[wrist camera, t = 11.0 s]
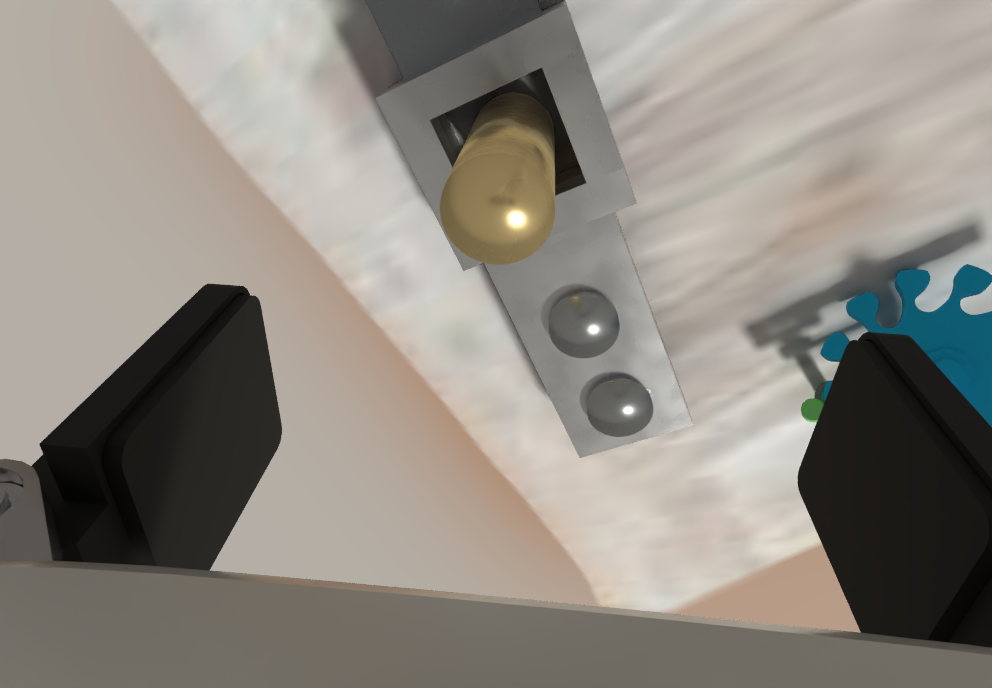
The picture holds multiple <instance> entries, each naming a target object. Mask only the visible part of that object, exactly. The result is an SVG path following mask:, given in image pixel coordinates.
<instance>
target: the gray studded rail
mask: <svg viewBox="0 0 992 688" xmlns="http://www.w3.org/2000/svg"><path fill="white" fill-rule="evenodd" d="M366 2H367V4H368V6H369V8H370V10H371V12H372V14H373V17H374V19H375V21H376V23H377V25H378V27H379V29H380V31H381V33H382V35H383V37H384V39H385V41H386V43H387V45H388V47H389V49H390V52H391V54H392V56H393V58H394V60H395V62H396V64H397V66H398V68H399V70H400V72H401V74H402V76H403V78H404V79H403V80H401V81H399V82H397V83H395V84H393V85H391V86H390V87H388V88H387V89H386V90H385V91H384V92H382V93H381V94H380V95H379V96H377V97H376V98H375V99H376V101H377V103H378V105H379V107H380V109H381V111H382V113H383V114H384V116H385V118H386V120H387V122H388V124H389V126H390V128H391V130H392V132H393V134H394V136H395V138H396V140H397V142H398V144H399V146H400V148H401V150H402V152H403V154H404V155H405V157H406V159H407V161H408V163H409V165H410V167H411V169H412V171H413V173H414V175H415V177H416V179H417V181H418V183H419V185H420V187H421V189H422V191H423V193H424V195H425V196H426V198H427V200H428V202H429V204H430V206H431V208H432V210H433V212H434V214H435V216H436V218H437V220H438V222H439V224H440V226H441V228H442V230H443V232H444V234H445V236H446V238H447V239H448V241H449V243H450V245H451V247H452V249H453V251H454V253H455V255H456V257H457V259H458V261H459V263H460V265H461V267H462V269H463V271H465V270H467V269H470V268H472V267H475V266H477V265H480V264H482V263H483V262H480V261H477V260H474V259H472V258H471V257H469V256H467V255H466V254H464V253H463V252H461V251H460V250H459V249H458V248H457V247H456V246H455V245H454V244H453V243H452V241H451V240H450V239H449V237H448V236H447V234H446V232H445V230H444V227H443V224H442V221H441V216H440V199H441V194H442V191H443V188H444V186H445V184H446V181H447V179H448V177H449V175H450V173H451V171H452V169H453V167H454V164H455V162H456V160H457V158H458V156H459V154H460V152H461V150H462V149H461V147H460V145H459V143H458V141H457V139H456V137H455V134H454V132H453V130H452V128H451V126H450V124H449V122H448V119H447V117H446V115H445V113H446V112H448V111H450V110H452V109H454V108H457V107H459V106H461V105H463V104H465V103H467V102H469V101H472V100H474V99H476V98H478V97H480V96H482V95H484V94H486V93H489V92H491V91H493V90H495V89H497V88H499V87H501V86H504V85H506V84H508V83H510V82H512V81H514V80H516V79H518V78H521V77H523V76H525V75H527V74H529V73H531V72H533V71H536V70H538V69H540V68H542V69H543V72H544V74H545V77H546V79H547V82H548V85H549V87H550V90H551V92H552V95H553V98H554V100H555V103H556V105H557V108H558V110H559V113H560V116H561V118H562V121H563V123H564V126H565V129H566V131H567V134H568V136H569V139H570V142H571V144H572V147H573V149H574V152H575V155H576V157H577V160H578V162H579V165H578V166H575V167H573V168H570V169H568V170H566V171H563V172H561V173H558V174H556V175H555V219H554V224H553V227H552V230H551V232H550V234H549V236H548V238H547V240H546V241H545V242H544V244H543V245H542V246H541V247H540V248H539V249H538V250H537V251H536V252H535V253H533V254H532V255H531V256H529V257H527V258H525V259H523V260H521V261H518V262H515V263H511V264H504V265H494V264H487V263H484V264H485V266H486V268H487V270H488V273H489V275H490V277H491V279H492V281H493V283H494V285H495V287H496V289H497V291H498V293H499V295H500V297H501V299H502V301H503V303H504V305H505V307H506V309H507V311H508V313H509V315H510V317H511V319H512V321H513V323H514V325H515V327H516V329H517V331H518V333H519V335H520V337H521V339H522V342H523V344H524V346H525V348H526V350H527V352H528V354H529V356H530V358H531V360H532V362H533V364H534V366H535V368H536V370H537V372H538V374H539V376H540V378H541V380H542V382H543V384H544V386H545V388H546V390H547V392H548V394H549V396H550V398H551V400H552V402H553V404H554V406H555V408H556V411H557V413H558V415H559V417H560V419H561V421H562V423H563V425H564V427H565V429H566V431H567V433H568V435H569V437H570V439H571V441H572V443H573V445H574V447H575V449H576V451H577V453H578V455H579V457H580V458H581V457H585V456H588V455H592V454H595V453H599V452H602V451H606V450H609V449H613V448H616V447H620V446H623V445H627V444H630V443H633V442H637V441H640V440H644V439H647V438H651V437H654V436H658V435H661V434H665V433H668V432H672V431H675V430H679V429H682V428H686V427H689V426H692V425H693V423H692V420H691V416H690V413H689V410H688V407H687V404H686V401H685V399H684V396H683V393H682V391H681V388H680V385H679V382H678V380H677V377H676V374H675V372H674V369H673V366H672V364H671V361H670V358H669V356H668V353H667V350H666V348H665V345H664V342H663V340H662V337H661V334H660V331H659V329H658V326H657V323H656V321H655V318H654V315H653V313H652V310H651V307H650V305H649V302H648V299H647V297H646V294H645V291H644V289H643V286H642V283H641V281H640V278H639V275H638V272H637V270H636V267H635V264H634V262H633V259H632V256H631V254H630V251H629V248H628V246H627V243H626V240H625V238H624V235H623V232H622V230H621V227H620V224H619V221H618V219H617V216H616V213H615V211H618V210H621V209H623V208H626V207H628V206H631V205H633V204H636V200H635V197H634V194H633V191H632V188H631V185H630V182H629V179H628V177H627V174H626V171H625V168H624V165H623V162H622V160H621V157H620V154H619V151H618V148H617V145H616V143H615V140H614V137H613V134H612V131H611V128H610V126H609V123H608V120H607V117H606V114H605V111H604V109H603V106H602V103H601V100H600V97H599V95H598V92H597V89H596V86H595V83H594V80H593V78H592V75H591V72H590V69H589V66H588V63H587V61H586V58H585V55H584V52H583V49H582V46H581V44H580V41H579V38H578V35H577V32H576V29H575V27H574V24H573V21H572V18H571V15H570V12H569V10H568V7H567V4H566V1H565V0H563V1H561V2H559V3H557V4H555V5H553V6H551V7H549V8H547V9H545V10H542V11H541V8H540V5H539V2H538V0H366Z"/></svg>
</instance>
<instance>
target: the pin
mask: <svg viewBox="0 0 992 688" xmlns="http://www.w3.org/2000/svg"><path fill="white" fill-rule="evenodd" d="M440 216H441V221H442V224H443V227H444V230H445V232H446V234H447V236H448V237H449V239H450V240H451V241H452V243H453V244H454V245H455V246H456V247H457V248H458V249H459V250H460V251H461V252H463V253H464V254H466V255H467V256H469V257H471V258H472V259H474V260H477V261H480V262H483V263H487V264H494V265H504V264H511V263H515V262H518V261H521V260H523V259H525V258H527V257H529V256H531V255H532V254H533V253H535V252H536V251H537V250H538V249H539V248H540V247H541V246H542V245H543V244H544V242H545V241H546V240H547V238H548V236H549V234H550V232H551V230H552V227H553V224H554V219H555V139H554V125H553V121H552V119H551V116H550V114H549V113H548V111H547V110H546V108H545V107H544V106H543V105H542V104H541V103H540V102H539V101H538V100H536V99H535V98H533V97H531V96H529V95H526V94H522V93H516V92H515V93H505V94H502V95H499V96H497V97H494V98H493V99H491V100H490V101H489V102H487V103H486V104H485V105H484V107H483V108H482V109H481V110H480V112H479V114H478V116H477V118H476V120H475V122H474V124H473V126H472V128H471V130H470V133H469V135H468V137H467V139H466V141H465V143H464V145H463V147H462V150H461V152H460V154H459V156H458V158H457V160H456V162H455V164H454V167H453V169H452V171H451V173H450V175H449V177H448V179H447V181H446V184H445V186H444V188H443V191H442V194H441V199H440Z"/></svg>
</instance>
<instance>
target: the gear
mask: <svg viewBox="0 0 992 688" xmlns="http://www.w3.org/2000/svg"><path fill="white" fill-rule="evenodd" d="M929 281H930V275H929V273H928V271H925V270H918V269H912V270H902V271H899V273H898V274H897V277H896V279H895V288H896V290H897V291H898V293H899V295H900V297H901V300H902V314H901V318H900V321H899V324H898V325H897V326H895V327H893V328H884V327H882V326H880V325H879V324H878V323H877V321H876V313H877V310H878V307H879V300H878V298H877V296H876V295H875V294H874V293H872V292H868V293H864V294H861V295H859V296H857V297H855V298H854V299H852V300H850V301H849V302H847V306H846V308H847V313H848V314H849V316H850V317H852V318H853V319H855V320H857V321H858V322H860V323H861V324H862V325H863V326H864V327H865V328H866V329H867V330H868V332H875V333H888V334H902V335H908V336H910V337H911V338H912V339H913V340H914V341H915V342H916V343H917V344H918V345H919V346H920V348H921V349H922V350H923V351H924V352H925V353H926V354H927V355H928V357H929V358H930V359H931V360H932V361H933V362H934V363H935V364H936V365H937V367H938V368H939V369H940V370H941V371H942V372H943V373H944V374H945V376H946V377H947V378H948V379H949V380H950V381H951V382H952V383H953V384H954V386H955V387H956V388H957V389H958V390H959V391H960V392H961V393H962V395H963V396H964V397H965V398H966V399H967V400H968V401H969V402H970V403H971V405H972V406H973V407H974V408H975V409H976V410H977V411H978V412H979V414H980V415H981V416H982V417H983V418H984V419H985V420H986V421H987V422H988V424H989V425H990V426H991V427H992V311H991V312H988V313H983V314H979V315H970V314H967V313H965V312H964V311H963V310H962V309H961V307H960V301H961V299H963V298H965V297H969V296H973V295H977V294H980V293H982V292H983V291H984V290H985V289H986V288H987V287H988V286H989V285H990V284H991V282H992V275H991V274H989V273H988V272H986V271H985V270H983V269H980V268H978V267H975V266H971V265H968V264H967V265H965V266H963V267H962V268H961V269H960V270H959V271H958V273H957V274H956V275H955V277H954V280H953V290H952V293H951V295H950V298H949V299H948V300H947V301H946V302H945V303H944V304H943V305H942V306H941V307H940V308H938V309H937V310H935V311H933V312H923V311H921V310H919V309H918V308H917V307H916V305H915V298H916V297H917V296H919V295H920V294H921V293H922V292H923V291H924V290H925V289H926V287H927V286H928V284H929ZM849 342H850V341H849V339H848V338H847V337H846V336H845V335H844V334H842V333H839V332H834V333H833V334H831V335H830V336H829V338H828V339H827V340H826V342H825V343H824V345H823V347H822V349H821V353H820V354H821V355H822V356H823V357H824V358H825V359H827V360H829V361H834V362H840V361H841V358H842V355H843V353H844V350H845V348H846V346H847V344H848V343H849ZM832 382H833V381H827V382H824V383H822V384H821V385H820V386H819V387H818V388H817V390H816V392H815V399H808V400H806V401H805V402H804V403H803V404H802V407H801V412H802V416H803V417H804V418H805V419H806V420H807V421H810V422H817V421H818V418H819V416H820V413H821V411H822V408H823V405H824V403H825V400H826V397H827V395H828V392H829V390H830V387H831V384H832Z"/></svg>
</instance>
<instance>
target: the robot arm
mask: <svg viewBox="0 0 992 688" xmlns="http://www.w3.org/2000/svg"><path fill="white" fill-rule="evenodd" d="M281 435H282V426H281V419H280V413H279V407H278V402H277V396H276V390H275V385H274V379H273V373H272V367H271V362H270V356H269V350H268V344H267V339H266V333H265V327H264V322H263V316H262V310H261V305H260V301H259V299H258V298H257V297H256V296H250V294H249V292H248V290H247V289H246V288H245V287H244V286H233V285H220V284H207V285H205V286H204V287H202V288H201V289H200V290H199V291H198V292H197V293H196V294H195V295H194V296H193V297H192V298H191V299H190V300H189V301H188V302H187V303H186V304H185V305H183V306H182V307H181V308H180V309H179V310H178V311H177V312H176V313H175V314H174V315H173V316H172V317H171V318H170V319H169V320H168V321H167V322H166V323H165V324H164V325H163V326H162V327H161V328H160V329H159V330H157V331H156V332H155V333H154V334H153V335H152V336H151V337H150V338H149V339H148V340H147V341H146V342H145V343H144V344H143V345H142V346H141V347H140V348H139V349H138V350H137V351H136V352H135V353H134V354H133V355H131V356H130V357H129V358H128V359H127V360H126V361H125V362H124V363H123V364H122V365H121V366H120V367H119V368H118V369H117V370H116V371H115V372H114V373H113V374H112V375H111V376H110V377H109V378H108V379H106V380H105V382H103V383H102V384H101V385H100V386H99V387H98V388H97V389H96V390H95V391H94V392H93V393H92V394H91V395H90V396H89V397H88V398H87V399H86V400H85V401H84V402H83V403H82V404H80V405H79V406H78V407H77V408H76V409H75V410H74V411H73V412H72V413H71V414H70V415H69V416H68V417H67V418H66V419H65V420H64V421H63V422H62V423H61V424H60V425H59V426H58V427H57V428H56V429H55V430H53V431H52V432H51V434H49V435H48V437H46V438H45V439H44V440H43V441H42V442H41V443H40V447H41V449H42V451H43V455H42V456H41V457H40V458H39V459H38V460H37V461H36V462H35V463H34V464H33V465H32V466H30V465H28V464H26V463H24V462H22V461H16V460H10V459H0V688H992V427H991V426H990V425H989V424H988V422H987V421H986V420H985V419H984V418H983V417H982V416H981V415H980V414H979V412H978V411H977V410H976V409H975V408H974V407H973V406H972V405H971V403H970V402H969V401H968V400H967V399H966V398H965V397H964V396H963V395H962V393H961V392H960V391H959V390H958V389H957V388H956V387H955V386H954V384H953V383H952V382H951V381H950V380H949V379H948V378H947V377H946V376H945V374H944V373H943V372H942V371H941V370H940V369H939V368H938V367H937V365H936V364H935V363H934V362H933V361H932V360H931V359H930V358H929V357H928V355H927V354H926V353H925V352H924V351H923V350H922V349H921V348H920V346H919V345H918V344H917V343H916V342H915V341H914V340H913V339H912V338H911V337H910V336H908V335H902V334H888V333H875V332H866V333H864V334H863V335H862V336H861V337H860V338H859V340H852V341H850V342H849V343H848V344H847V346H846V348H845V350H844V353H843V355H842V358H841V361H840V363H839V366H838V369H837V371H836V374H835V376H834V379H833V382H832V384H831V387H830V390H829V392H828V395H827V397H826V400H825V403H824V405H823V408H822V411H821V413H820V416H819V418H818V421H817V424H816V426H815V429H814V431H813V434H812V437H811V439H810V442H809V445H808V447H807V450H806V452H805V455H804V458H803V460H802V463H801V466H800V468H799V472H798V488H799V491H800V494H801V497H802V499H803V501H804V503H805V506H806V508H807V510H808V513H809V515H810V517H811V519H812V522H813V524H814V526H815V529H816V531H817V533H818V535H819V538H820V540H821V542H822V545H823V547H824V549H825V551H826V554H827V556H828V558H829V561H830V563H831V565H832V567H833V569H834V572H835V574H836V577H837V579H838V581H839V583H840V586H841V588H842V590H843V593H844V595H845V597H846V599H847V602H848V603H849V606H850V608H851V611H852V613H853V615H854V618H855V620H856V622H857V624H858V626H859V629H860V631H861V633H857V632H847V631H838V630H828V629H818V628H809V627H799V626H789V625H779V624H769V623H759V622H748V621H740V620H730V619H720V618H710V617H700V616H690V615H681V614H671V613H661V612H651V611H640V610H630V609H620V608H609V607H599V606H587V605H578V604H568V603H557V602H548V601H537V600H525V599H516V598H506V597H495V596H485V595H474V594H463V593H453V592H442V591H432V590H421V589H410V588H399V587H388V586H376V585H366V584H355V583H343V582H333V581H322V580H311V579H300V578H289V577H277V576H267V575H255V574H243V573H233V572H221V571H209V570H210V569H211V567H212V565H213V563H214V561H215V559H216V558H217V556H218V554H219V552H220V551H221V549H222V547H223V545H224V543H225V542H226V540H227V538H228V536H229V535H230V533H231V531H232V529H233V527H234V526H235V524H236V522H237V520H238V518H239V517H240V515H241V513H242V511H243V509H244V508H245V506H246V504H247V502H248V500H249V499H250V497H251V495H252V493H253V491H254V490H255V488H256V486H257V484H258V483H259V481H260V479H261V477H262V475H263V474H264V472H265V470H266V468H267V467H268V465H269V463H270V461H271V459H272V458H273V456H274V454H275V452H276V450H277V448H278V446H279V444H280V440H281Z"/></svg>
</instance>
